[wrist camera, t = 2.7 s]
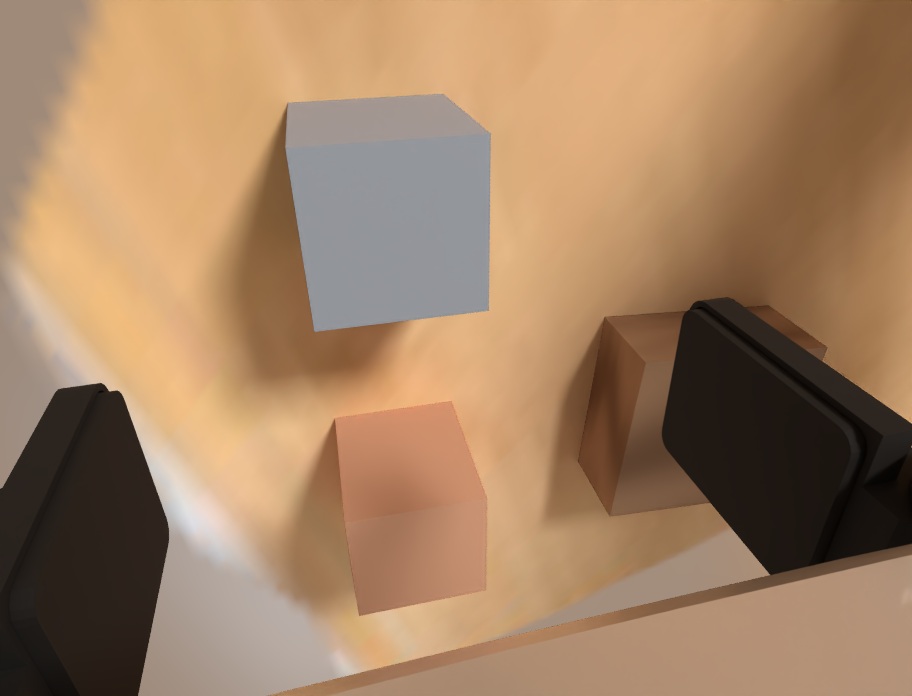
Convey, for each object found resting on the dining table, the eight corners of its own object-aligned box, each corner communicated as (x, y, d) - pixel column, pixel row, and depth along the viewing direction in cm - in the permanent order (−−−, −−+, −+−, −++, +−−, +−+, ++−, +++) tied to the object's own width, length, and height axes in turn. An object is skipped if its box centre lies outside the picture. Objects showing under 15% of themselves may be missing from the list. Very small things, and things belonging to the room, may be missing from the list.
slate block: (287, 102, 20) (285, 148, 15) (442, 93, 21) (490, 133, 16) (310, 250, 22) (314, 332, 17) (447, 236, 23) (488, 310, 18)
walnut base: (602, 313, 27) (645, 362, 23) (764, 303, 28) (827, 347, 25) (575, 457, 31) (609, 516, 28) (719, 440, 32) (768, 494, 29)
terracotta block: (334, 417, 26) (344, 523, 21) (451, 400, 27) (487, 498, 22) (347, 503, 29) (359, 615, 24) (453, 485, 30) (485, 590, 25)
